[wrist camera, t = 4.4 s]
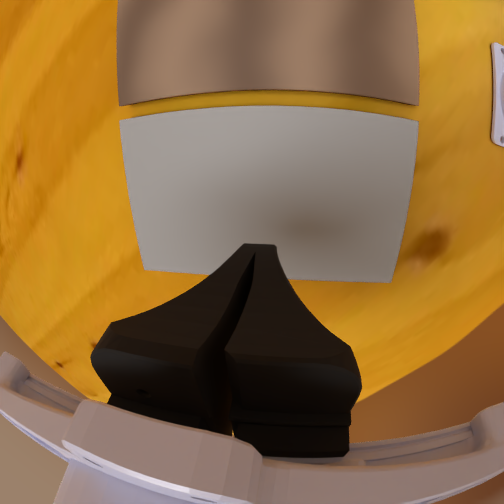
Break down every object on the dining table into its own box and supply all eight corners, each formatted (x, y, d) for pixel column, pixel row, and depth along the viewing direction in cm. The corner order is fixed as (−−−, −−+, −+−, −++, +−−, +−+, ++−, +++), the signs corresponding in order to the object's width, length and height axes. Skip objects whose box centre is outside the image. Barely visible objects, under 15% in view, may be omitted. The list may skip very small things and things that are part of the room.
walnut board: (403, -16, 8) (409, -22, 7) (410, 104, 13) (418, 105, 12) (127, -7, 11) (119, -11, 10) (128, 105, 15) (119, 106, 14)
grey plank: (410, 120, 13) (418, 121, 12) (386, 273, 19) (390, 282, 18) (129, 118, 16) (119, 120, 15) (150, 261, 21) (144, 269, 20)
